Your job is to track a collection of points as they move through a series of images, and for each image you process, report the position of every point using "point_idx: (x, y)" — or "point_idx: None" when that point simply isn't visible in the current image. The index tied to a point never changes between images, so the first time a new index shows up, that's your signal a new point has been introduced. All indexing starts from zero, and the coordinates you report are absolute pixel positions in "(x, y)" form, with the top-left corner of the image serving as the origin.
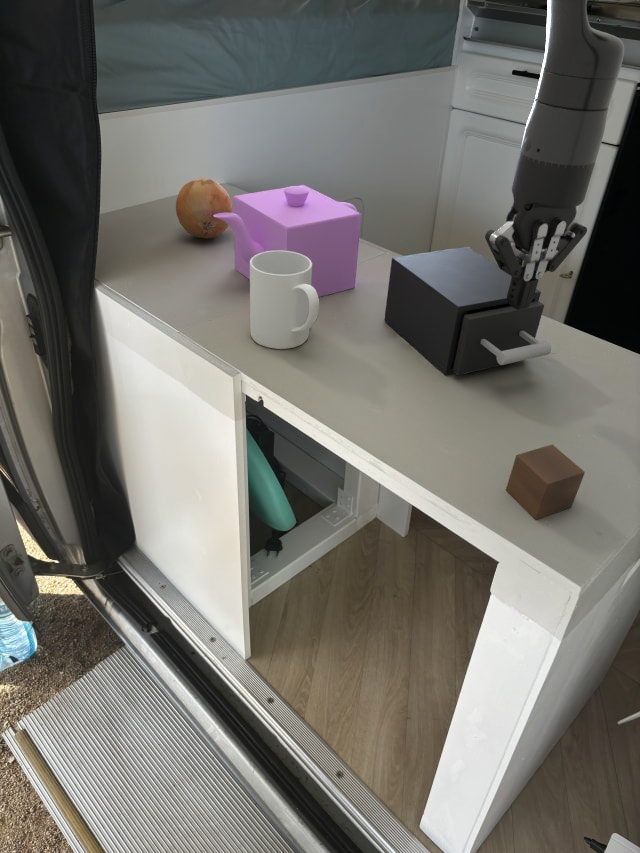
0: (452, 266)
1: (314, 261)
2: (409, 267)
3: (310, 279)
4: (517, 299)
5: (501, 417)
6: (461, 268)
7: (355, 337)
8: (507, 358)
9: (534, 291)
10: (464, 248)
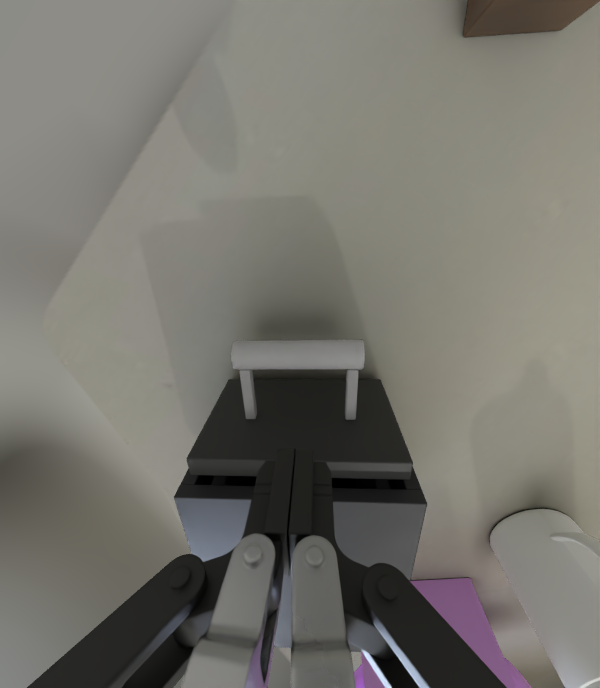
0: None
1: None
2: None
3: (582, 639)
4: (321, 477)
5: (380, 260)
6: (290, 602)
7: (437, 503)
8: (358, 344)
9: (257, 491)
10: None
